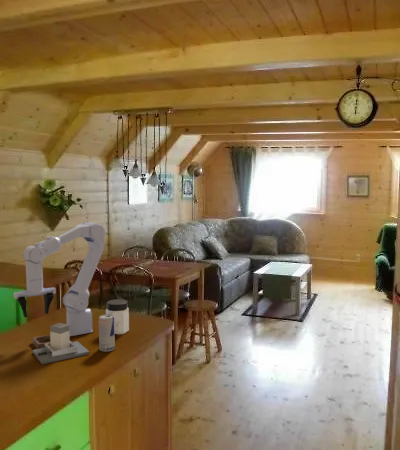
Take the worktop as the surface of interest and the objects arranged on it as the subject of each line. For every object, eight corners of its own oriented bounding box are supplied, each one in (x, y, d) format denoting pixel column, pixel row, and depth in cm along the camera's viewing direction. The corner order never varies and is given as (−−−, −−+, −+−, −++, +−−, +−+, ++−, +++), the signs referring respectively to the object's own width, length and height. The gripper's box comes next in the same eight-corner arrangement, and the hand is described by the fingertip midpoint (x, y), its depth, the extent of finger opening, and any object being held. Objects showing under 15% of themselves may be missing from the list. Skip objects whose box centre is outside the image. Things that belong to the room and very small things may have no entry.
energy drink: (117, 347, 167) (116, 315, 166) (109, 352, 162) (109, 319, 161) (104, 345, 169) (103, 313, 168) (96, 350, 164) (95, 317, 163)
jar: (106, 335, 180) (105, 305, 179) (105, 329, 188) (105, 299, 187) (129, 333, 182) (129, 303, 181) (128, 327, 190) (127, 298, 189)
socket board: (77, 343, 171) (77, 336, 171) (89, 354, 161) (88, 345, 161) (32, 352, 162) (32, 344, 162) (42, 364, 152) (41, 355, 152)
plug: (59, 347, 165) (58, 322, 164) (69, 350, 162) (69, 324, 161) (50, 351, 161) (49, 325, 160) (61, 353, 159) (60, 328, 158)
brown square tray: (52, 339, 176) (51, 334, 176) (58, 345, 169) (58, 340, 169) (32, 343, 172) (32, 337, 172) (38, 349, 165) (38, 344, 165)
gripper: (51, 274, 178) (52, 309, 179) (11, 279, 170) (12, 315, 171) (57, 277, 172) (58, 313, 173) (15, 282, 164) (17, 320, 165)
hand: (36, 314), depth 172 cm, fingers open, 7 cm apart
